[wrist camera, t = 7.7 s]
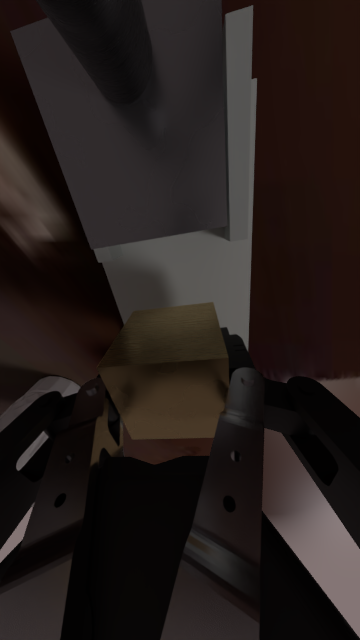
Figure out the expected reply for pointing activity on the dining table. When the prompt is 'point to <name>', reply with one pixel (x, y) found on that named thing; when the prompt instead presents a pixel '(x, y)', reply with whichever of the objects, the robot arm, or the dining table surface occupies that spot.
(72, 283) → the dining table surface
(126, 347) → the tan cube
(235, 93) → the press
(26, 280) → the dining table surface
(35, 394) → the white cup
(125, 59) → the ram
